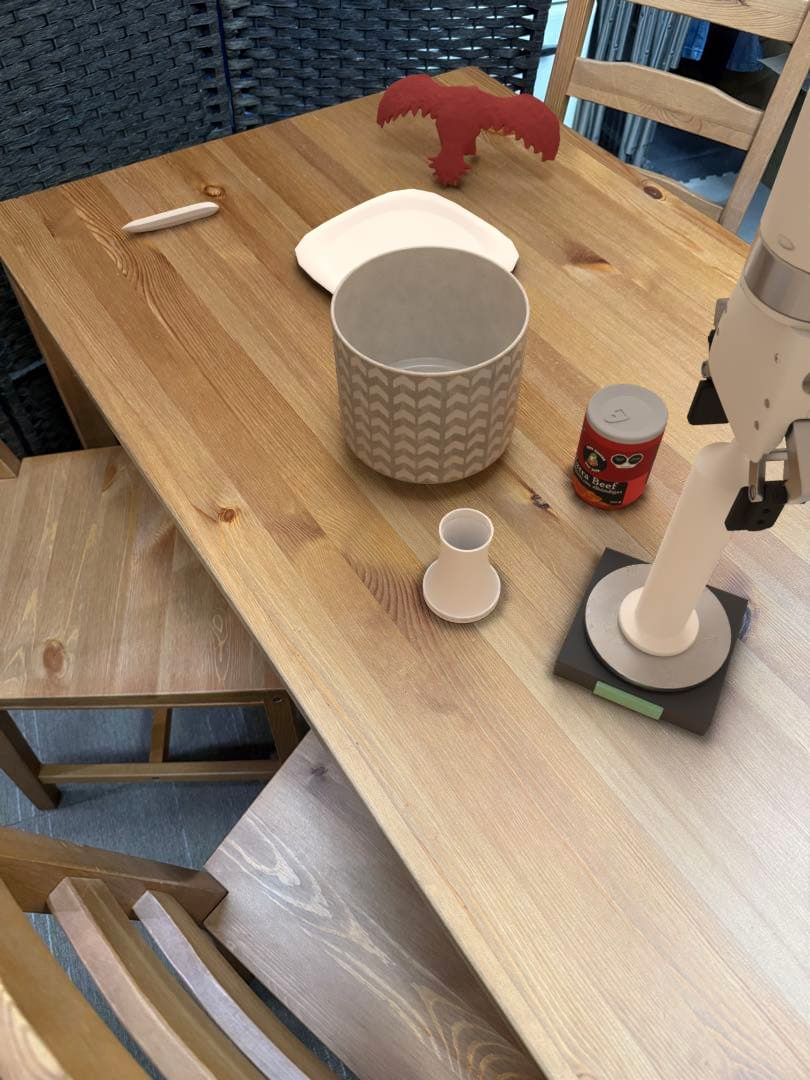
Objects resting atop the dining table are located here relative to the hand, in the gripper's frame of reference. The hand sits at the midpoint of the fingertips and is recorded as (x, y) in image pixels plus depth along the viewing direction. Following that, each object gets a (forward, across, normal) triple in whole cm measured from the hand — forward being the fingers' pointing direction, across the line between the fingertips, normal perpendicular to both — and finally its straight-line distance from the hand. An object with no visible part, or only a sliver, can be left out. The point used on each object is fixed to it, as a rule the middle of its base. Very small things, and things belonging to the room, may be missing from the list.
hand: (726, 471), depth 60 cm
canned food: (+25, +20, 0) cm, 32 cm away
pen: (+25, +71, +51) cm, 91 cm away
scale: (+25, 0, 0) cm, 25 cm away
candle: (+21, 0, 0) cm, 21 cm away
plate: (+25, +59, +19) cm, 67 cm away
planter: (+25, +28, +19) cm, 42 cm away
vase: (+25, +7, +17) cm, 31 cm away
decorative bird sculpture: (+25, +82, +10) cm, 86 cm away
